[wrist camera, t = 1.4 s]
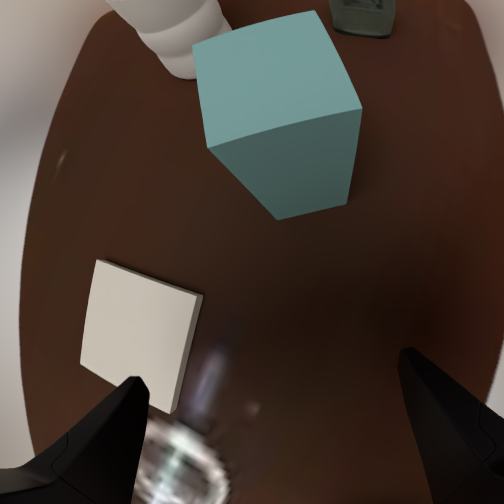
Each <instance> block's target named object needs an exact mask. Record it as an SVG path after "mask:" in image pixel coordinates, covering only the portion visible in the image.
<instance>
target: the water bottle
mask: <svg viewBox="0 0 504 504" xmlns="http://www.w3.org/2000/svg"><path fill="white" fill-rule="evenodd" d="M105 1H106V2H107V3H108V4H109V5H110V6H111V7H112V8H113V9H114V10H115V11H116V12H117V13H118V14H119V15H120V16H121V17H122V18H123V19H124V20H126V21H127V22H128V23H129V24H130V25H131V26H132V27H134V28H135V29H136V31H137V33H138V35H139V36H140V38H141V39H142V41H143V42H144V43H145V44H146V45H147V46H148V47H149V48H150V49H151V50H153V51H154V52H155V53H156V54H157V56H158V57H159V59H160V60H161V62H162V63H163V64H164V66H165V67H166V68H167V69H168V70H169V72H170V73H172V74H173V75H174V76H176V77H178V78H182V79H197V77H196V70H195V63H194V56H193V49H192V45H194V44H196V43H199V42H201V41H204V40H207V39H210V38H212V37H215V36H218V35H221V34H224V33H227V32H230V31H232V29H231V27H230V25H229V23H228V22H227V20H226V19H225V18H224V16H223V15H222V11H221V8H220V6H219V3H218V1H217V0H105Z"/></svg>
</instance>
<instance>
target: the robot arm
mask: <svg viewBox="0 0 504 504" xmlns="http://www.w3.org/2000/svg"><path fill="white" fill-rule="evenodd" d="M398 374H399V378H400V383H401V387H402V392H403V397H404V401H405V406H406V410H407V414H408V417H409V420H410V423H411V426H412V429H413V432H414V435H415V439H416V442H417V445H418V448H419V452H420V455H421V459H422V462H423V466H424V469H425V473H426V476H427V480H428V484H429V488H430V492H431V496H432V500H433V504H504V418H502V417H501V416H499V415H498V414H496V413H495V412H494V411H493V410H491V409H490V408H489V407H487V406H486V405H485V404H484V403H483V402H481V403H480V400H479V399H478V398H476V397H475V396H474V395H473V394H471V393H470V392H469V391H468V390H466V389H465V388H464V387H463V386H461V385H460V384H459V383H458V382H456V381H455V380H454V379H453V378H451V377H450V376H449V375H448V374H446V373H445V372H444V371H443V370H441V369H440V368H439V367H438V366H436V365H435V364H434V363H433V362H431V361H430V360H429V359H428V358H426V357H425V356H424V355H422V354H421V353H420V352H419V351H417V350H416V349H415V348H413V347H408V348H403V349H401V351H400V354H399V361H398ZM149 400H150V392H149V389H148V387H147V386H146V384H145V383H144V381H143V379H142V378H141V377H140V376H129V377H128V378H127V379H126V380H124V381H123V382H122V383H121V384H120V385H119V386H118V387H117V388H116V389H114V390H113V391H112V392H111V393H110V394H109V395H108V396H107V397H106V398H104V399H103V400H102V401H101V402H100V403H99V404H98V405H97V406H95V407H94V408H93V409H92V410H91V411H90V412H89V413H88V414H86V415H85V416H84V417H83V418H82V419H81V420H80V421H79V422H77V423H76V424H75V425H74V426H73V427H72V428H71V429H70V430H68V432H66V433H65V434H64V435H63V436H62V437H60V438H59V439H58V440H57V441H56V442H54V443H53V444H52V445H51V446H49V447H48V448H47V449H45V450H44V451H43V452H41V453H40V454H38V455H37V456H36V457H34V458H33V459H32V460H30V461H29V462H27V463H26V464H24V465H22V466H20V467H17V468H8V469H0V504H131V500H132V495H133V489H134V484H135V479H136V474H137V469H138V464H139V460H140V455H141V450H142V446H143V441H144V437H145V432H146V426H147V417H148V408H149Z"/></svg>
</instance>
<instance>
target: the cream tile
mask: <svg viewBox="0 0 504 504" xmlns="http://www.w3.org/2000/svg"><path fill="white" fill-rule="evenodd" d="M202 299H203V295H200V294H197V293H195V292H192V291H189V290H186V289H183V288H180V287H177V286H174V285H171V284H168V283H166V282H163V281H160V280H157V279H154V278H152V277H149V276H146V275H143V274H141V273H138V272H135V271H132V270H130V269H127V268H124V267H122V266H119V265H116V264H114V263H111V262H109V261H106V260H97V261H96V266H95V270H94V275H93V280H92V285H91V291H90V296H89V302H88V308H87V314H86V321H85V328H84V335H83V343H82V352H81V361H80V364H81V365H83V366H85V367H86V368H88V369H89V370H91V371H92V372H94V373H96V374H97V375H99V376H100V377H102V378H104V379H105V380H107V381H109V382H110V383H112V384H114V385H116V386H117V387H118V386H119V385H120V384H121V383H122V382H123V381H124V380H126V379H127V378H128V377H129V376H140V377H141V378H142V379H143V381H144V383H145V384H146V386H147V387H148V389H149V392H150V400H149V404H150V405H152V406H154V407H156V408H158V409H160V410H162V411H164V412H167V413H169V414H170V413H172V412H173V411H174V410H176V409H177V404H178V400H179V395H180V391H181V386H182V382H183V377H184V373H185V369H186V365H187V360H188V356H189V352H190V348H191V343H192V339H193V335H194V331H195V327H196V323H197V319H198V315H199V311H200V307H201V303H202Z"/></svg>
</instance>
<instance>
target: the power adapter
mask: <svg viewBox="0 0 504 504" xmlns="http://www.w3.org/2000/svg"><path fill="white" fill-rule="evenodd" d="M329 3H330V9H331V14H332V20H333V26H334V29H335V31H336V32H338V33H340V34H343V35H355V36H364V37H373V38H381V39H385V38H388V37H389V36H390V34H391V30H392V26H393V21H394V17H395V6H396V0H329Z"/></svg>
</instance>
